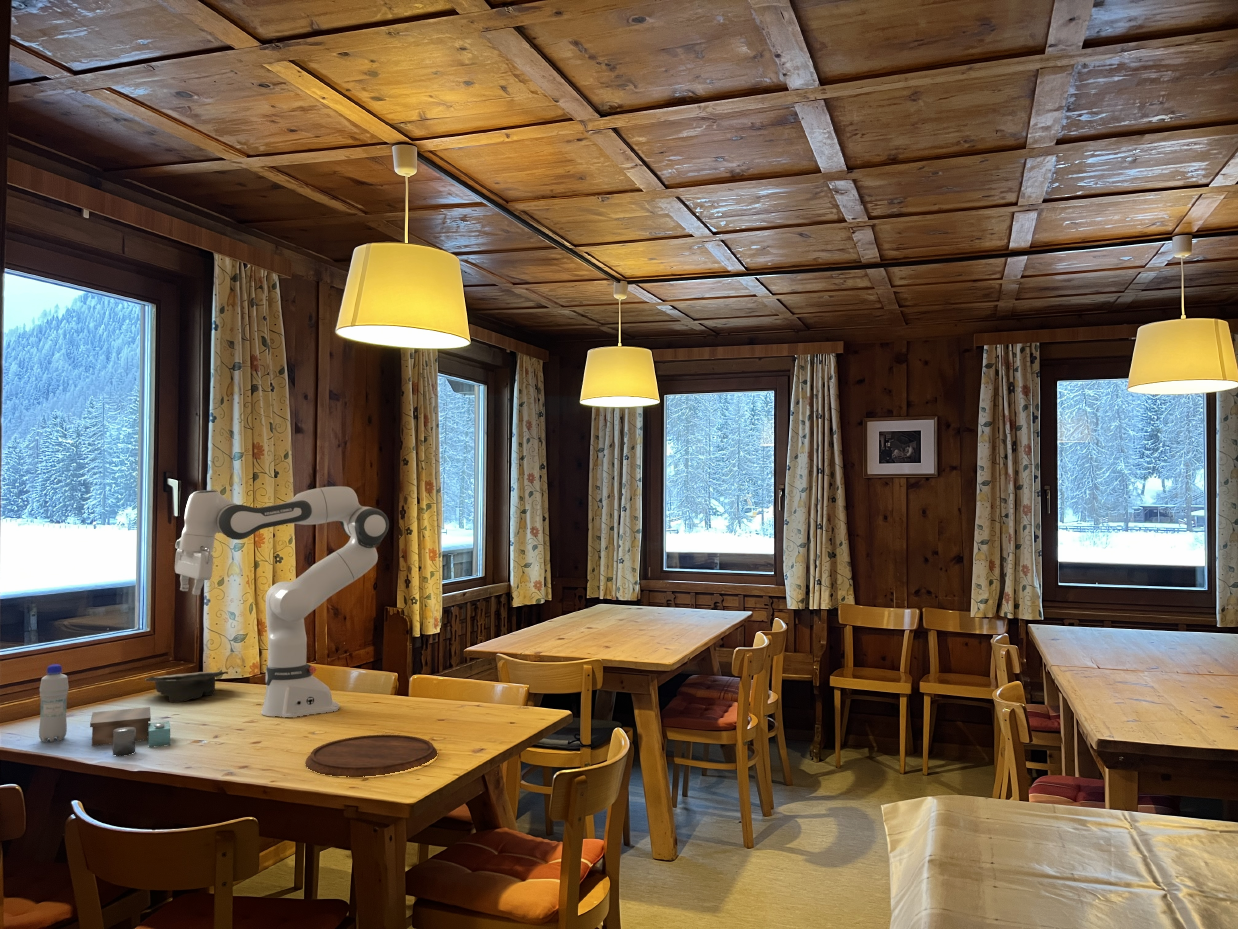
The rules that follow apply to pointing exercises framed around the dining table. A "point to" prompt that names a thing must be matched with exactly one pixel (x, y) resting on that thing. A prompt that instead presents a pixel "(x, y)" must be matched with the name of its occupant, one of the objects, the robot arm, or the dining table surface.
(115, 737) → the tin
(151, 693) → the dining table surface
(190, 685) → the stone bowl
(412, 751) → the cutting board
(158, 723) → the block
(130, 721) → the stand
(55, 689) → the bottle
